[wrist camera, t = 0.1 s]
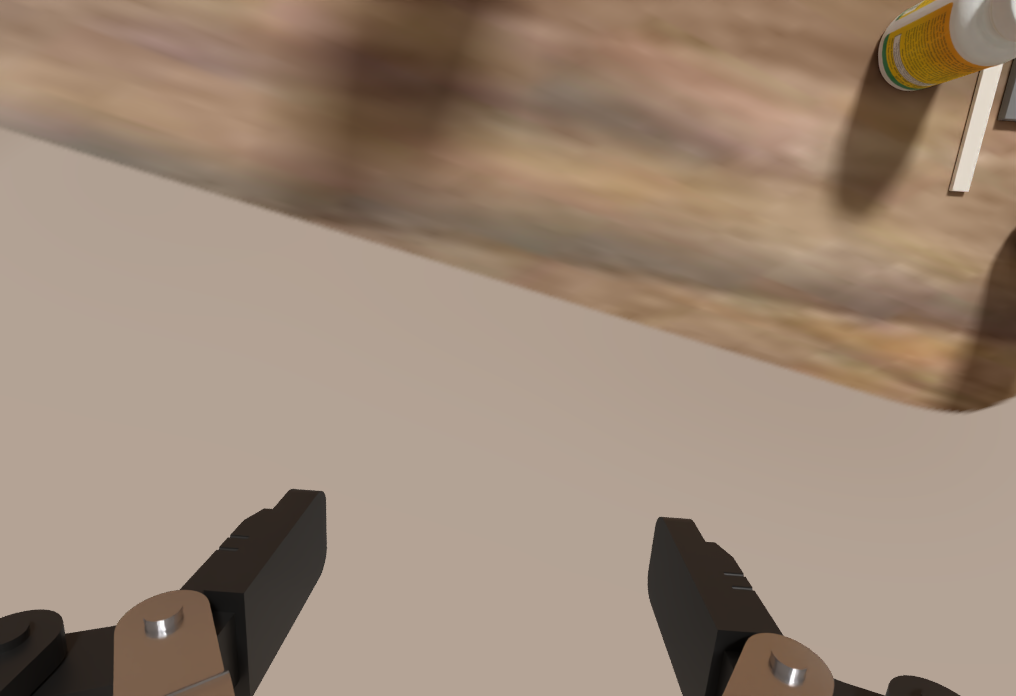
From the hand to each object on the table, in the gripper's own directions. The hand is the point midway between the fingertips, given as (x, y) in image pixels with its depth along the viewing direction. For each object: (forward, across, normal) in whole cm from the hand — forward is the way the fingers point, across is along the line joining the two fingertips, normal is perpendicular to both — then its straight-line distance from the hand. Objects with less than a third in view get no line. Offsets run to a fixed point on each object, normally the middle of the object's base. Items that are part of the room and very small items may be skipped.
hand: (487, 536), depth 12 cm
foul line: (+29, -32, -22) cm, 49 cm away
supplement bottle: (+30, -27, -21) cm, 45 cm away
